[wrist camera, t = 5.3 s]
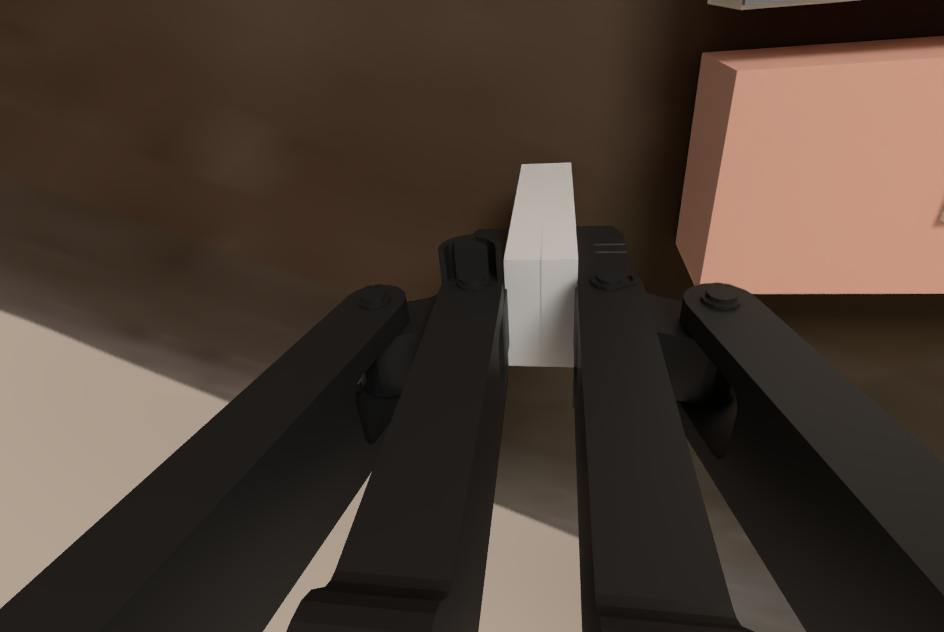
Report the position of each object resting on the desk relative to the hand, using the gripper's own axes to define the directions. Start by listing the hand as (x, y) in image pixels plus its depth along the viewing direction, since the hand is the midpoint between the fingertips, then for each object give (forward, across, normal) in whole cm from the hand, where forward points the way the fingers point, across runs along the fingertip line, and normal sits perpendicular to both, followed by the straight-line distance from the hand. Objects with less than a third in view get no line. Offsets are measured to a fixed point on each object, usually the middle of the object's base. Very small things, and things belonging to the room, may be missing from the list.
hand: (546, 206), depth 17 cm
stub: (+2, +11, +1) cm, 11 cm away
